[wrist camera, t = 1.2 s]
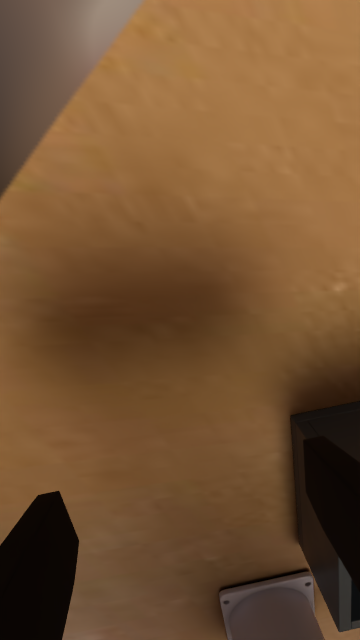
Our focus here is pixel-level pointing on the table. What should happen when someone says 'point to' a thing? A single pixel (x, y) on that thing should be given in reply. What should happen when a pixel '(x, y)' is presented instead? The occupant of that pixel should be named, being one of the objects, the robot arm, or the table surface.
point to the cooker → (329, 572)
